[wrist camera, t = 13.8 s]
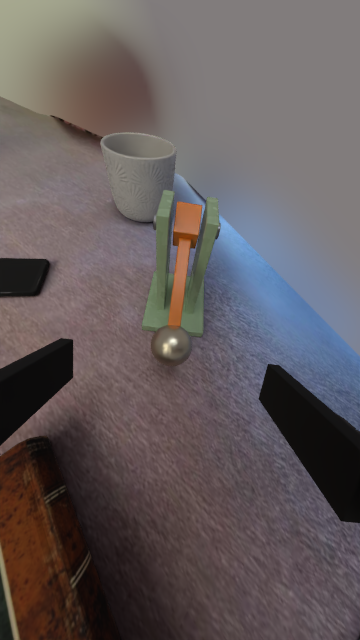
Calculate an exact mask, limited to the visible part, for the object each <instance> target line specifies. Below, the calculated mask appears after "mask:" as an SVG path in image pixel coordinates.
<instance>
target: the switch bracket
mask: <svg viewBox="0 0 360 640" xmlns="http://www.w3.org/2000/svg"><path fill="white" fill-rule="evenodd" d="M174 193H175V192H174V191H168V190H164V191H163V194H162V198H161V201H160V204H159V208H158V211H157V213H155V214H154V221H153V227H154V230H156V263H157V272H155V271H154V275H153V279H152V283H151V287H150V292H149V296H148V300H147V305H146V309H145V313H144V318H143V322H142V330H148V331H157V330H158V329H159V328H161V327H163V326H165V325H168V319H169V312H170V304H171V296H172V289H173V281H174V274H170V273H169V262H170V249H171V235H172V221H173V207H174ZM219 232H220V223H219V212H218V199H217V198H210V197H207V200H206V205H205V210H204V214H203V219H202V224H201V229H200V233H199V238H198V243H197V247H196V252H195V257H194V262H193V266H192V271H191V276H187V278H186V286H185V294H184V302H183V310H182V318H181V326H180V327H182V328H184V329H185V330H186V331H187V332H188V333H189V335H190V336H196V337H201V336H202V334H203V309H204V275H205V271H206V268H207V265H208V261H209V258H210V255H211V251H212V248H213V245H214V241H215V239H217V238H218V236H219Z"/></svg>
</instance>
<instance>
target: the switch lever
mask: <svg viewBox="0 0 360 640" xmlns="http://www.w3.org/2000/svg"><path fill="white" fill-rule="evenodd" d="M201 212H202V205H197V204H190V203H184V202H177V208H176V216H175V223H174V230H173V245H174V246H178V251H177V258H176V266H175V274H174V281H173V289H172V296H171V304H170V312H169V319H168V325H165V326H163V327H161V328H159V329H158V330H157V331H156V332H155V334H154V335H153V337H152V340H151V351H152V354H153V356H154V358H155V359H156V360H157V361H158V362H159V363H161V364H163V365H165V366H177V365H180V364H182V363H183V362H185V361H186V360H187V359H188V357H189V356H190V354H191V351H192V340H191V337H190V335H189V333H188V332H187V331H186V330H185V329H184V328H182V327H180V326H181V318H182V310H183V302H184V294H185V286H186V278H187V270H188V262H189V254H190V248H195V246H196V243H197V239H198V236H199V229H200V220H201Z"/></svg>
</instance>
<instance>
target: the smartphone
mask: <svg viewBox="0 0 360 640" xmlns="http://www.w3.org/2000/svg"><path fill="white" fill-rule="evenodd" d="M49 265H50V263H49V261H48V260H46V259H15V258H0V296H35V295H37V294H38V293H39V291H40V289H41V286H42V283H43V281H44V278H45V276H46V273H47V270H48V268H49Z"/></svg>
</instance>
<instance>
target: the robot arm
mask: <svg viewBox="0 0 360 640" xmlns="http://www.w3.org/2000/svg"><path fill="white" fill-rule="evenodd" d="M72 378H73V340H71V339H63V338H61V339H59V340H57V341H55V342H53V343H51V344H49V345H47V346H45V347H43V348H41V349H39V350H37V351H35V352H33V353H31V354H29V355H27V356H25V357H23V358H21V359H19V360H17V361H15V362H13V363H11V364H9V365H7V366H5V367H3V368H1V369H0V445H1V444H2V443H4V442H5V441H6V440H7V439H8V438H9V437H10V436H11V435H12V434H13V433H14V432H15V431H16V430H17V429H18V428H20V427H21V426H22V425H23V424H24V423H25V422H26V421H27V420H28V419H29V418H30V417H31V416H32V415H33V414H35V413H36V412H37V411H38V410H39V409H40V408H41V407H42V406H43V405H44V404H45V403H46V402H47V401H48V400H49V399H51V398H52V397H53V396H54V395H55V394H56V393H57V392H58V391H59V390H60V389H61V388H62V387H63V386H64V385H66V384H67V383H68V382H69V381H70V380H71V379H72ZM259 400H260V402H261V403H262V405H263V406H264V408H265V409H266V411H267V412H268V414H269V415H270V417H271V418H272V420H273V421H274V422H275V424H276V425H277V427H278V428H279V430H280V431H281V433H282V434H283V436H284V437H285V439H286V440H287V442H288V443H289V445H290V446H291V448H292V449H293V451H294V452H295V454H296V455H297V457H298V458H299V460H300V461H301V463H302V464H303V465H304V467H305V468H306V470H307V471H308V473H309V474H310V476H311V477H312V479H313V480H314V482H315V483H316V485H317V486H318V488H319V489H320V491H321V492H322V494H323V495H324V497H325V498H326V500H327V501H328V503H329V504H330V506H331V507H332V508H333V510H334V511H335V513H336V514H337V516H338V517H339V519H340V520H341V521H344V522H355V523H360V432H359V431H358V430H356V428H355V427H353V426H352V425H351V424H350V423H349V422H347V421H346V420H345V419H344V418H342V417H340V416H339V415H337V414H336V413H334V412H333V411H332V410H331V409H330V408H328V407H327V406H326V405H325V404H324V403H323V402H321V401H320V400H319V399H318V398H317V397H316V396H314V395H313V394H312V393H311V392H310V391H308V390H307V389H306V388H305V387H304V386H303V385H301V384H300V383H299V382H298V381H297V380H296V379H294V378H293V377H292V376H291V375H290V374H289V373H287V372H286V371H285V370H284V369H283V368H281V367H280V366H279V365H272V364H268V366H267V370H266V374H265V377H264V381H263V385H262V389H261V392H260V396H259Z"/></svg>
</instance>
